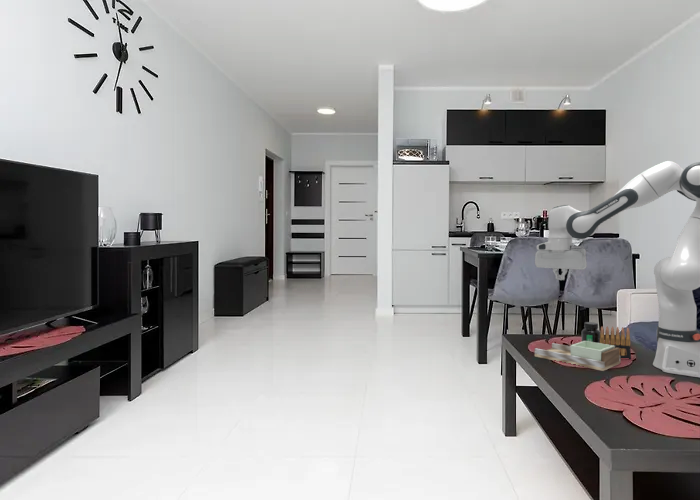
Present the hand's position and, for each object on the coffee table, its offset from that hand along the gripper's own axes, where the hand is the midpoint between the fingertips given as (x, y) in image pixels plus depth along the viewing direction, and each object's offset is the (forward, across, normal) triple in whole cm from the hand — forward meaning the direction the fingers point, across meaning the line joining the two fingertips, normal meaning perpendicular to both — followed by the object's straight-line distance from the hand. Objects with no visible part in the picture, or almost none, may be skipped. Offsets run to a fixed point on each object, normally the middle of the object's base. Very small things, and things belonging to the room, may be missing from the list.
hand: (560, 279), depth 195 cm
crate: (+28, -17, +9) cm, 34 cm away
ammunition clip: (+29, -19, -5) cm, 35 cm away
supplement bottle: (+29, -10, -6) cm, 31 cm away
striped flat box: (+29, -11, +8) cm, 32 cm away
